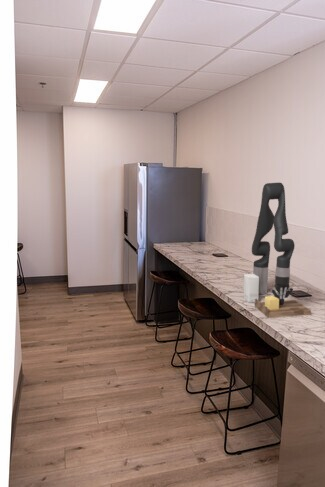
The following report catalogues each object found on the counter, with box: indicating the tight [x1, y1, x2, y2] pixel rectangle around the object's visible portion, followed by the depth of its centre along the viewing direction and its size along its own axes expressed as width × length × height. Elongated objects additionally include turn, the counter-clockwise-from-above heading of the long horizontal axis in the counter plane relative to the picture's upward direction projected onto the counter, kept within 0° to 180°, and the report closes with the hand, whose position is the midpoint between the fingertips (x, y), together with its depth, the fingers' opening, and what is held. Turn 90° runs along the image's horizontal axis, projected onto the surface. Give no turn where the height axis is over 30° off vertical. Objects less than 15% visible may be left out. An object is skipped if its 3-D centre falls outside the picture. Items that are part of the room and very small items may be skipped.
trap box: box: [254, 299, 312, 318], centre depth 210 cm, size 17×25×4 cm
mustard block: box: [264, 295, 279, 309], centre depth 207 cm, size 6×6×6 cm
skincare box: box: [243, 273, 260, 304], centre depth 225 cm, size 8×7×16 cm
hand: (280, 304), depth 209 cm, fingers closed
